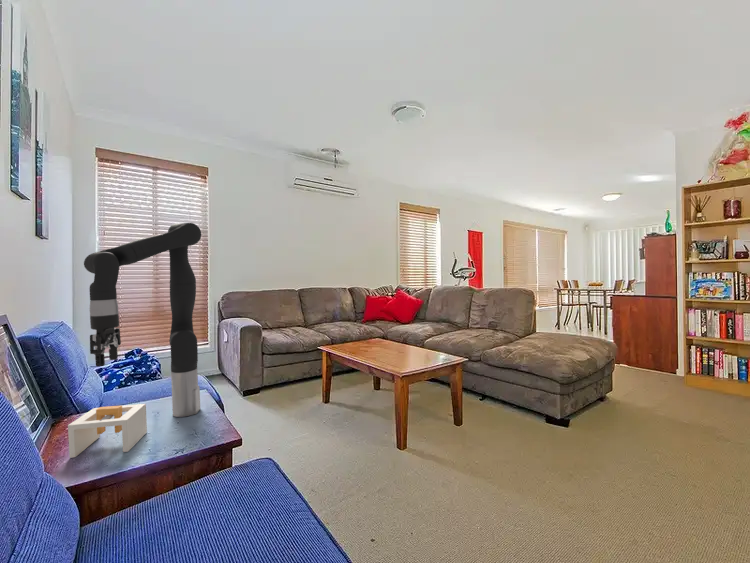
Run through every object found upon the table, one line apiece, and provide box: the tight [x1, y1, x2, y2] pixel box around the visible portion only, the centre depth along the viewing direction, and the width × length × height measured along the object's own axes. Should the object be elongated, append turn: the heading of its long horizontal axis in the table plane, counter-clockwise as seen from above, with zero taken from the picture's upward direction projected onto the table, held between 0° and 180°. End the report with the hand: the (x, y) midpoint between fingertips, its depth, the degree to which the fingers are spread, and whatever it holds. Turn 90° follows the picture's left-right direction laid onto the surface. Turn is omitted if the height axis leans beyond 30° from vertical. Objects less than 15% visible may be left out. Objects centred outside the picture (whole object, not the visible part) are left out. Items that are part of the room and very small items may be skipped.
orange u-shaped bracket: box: [96, 405, 123, 435], centre depth 118 cm, size 6×2×8 cm, turn 98°
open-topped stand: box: [67, 403, 148, 459], centre depth 118 cm, size 16×14×10 cm
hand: (107, 362), depth 119 cm, fingers open, 8 cm apart
